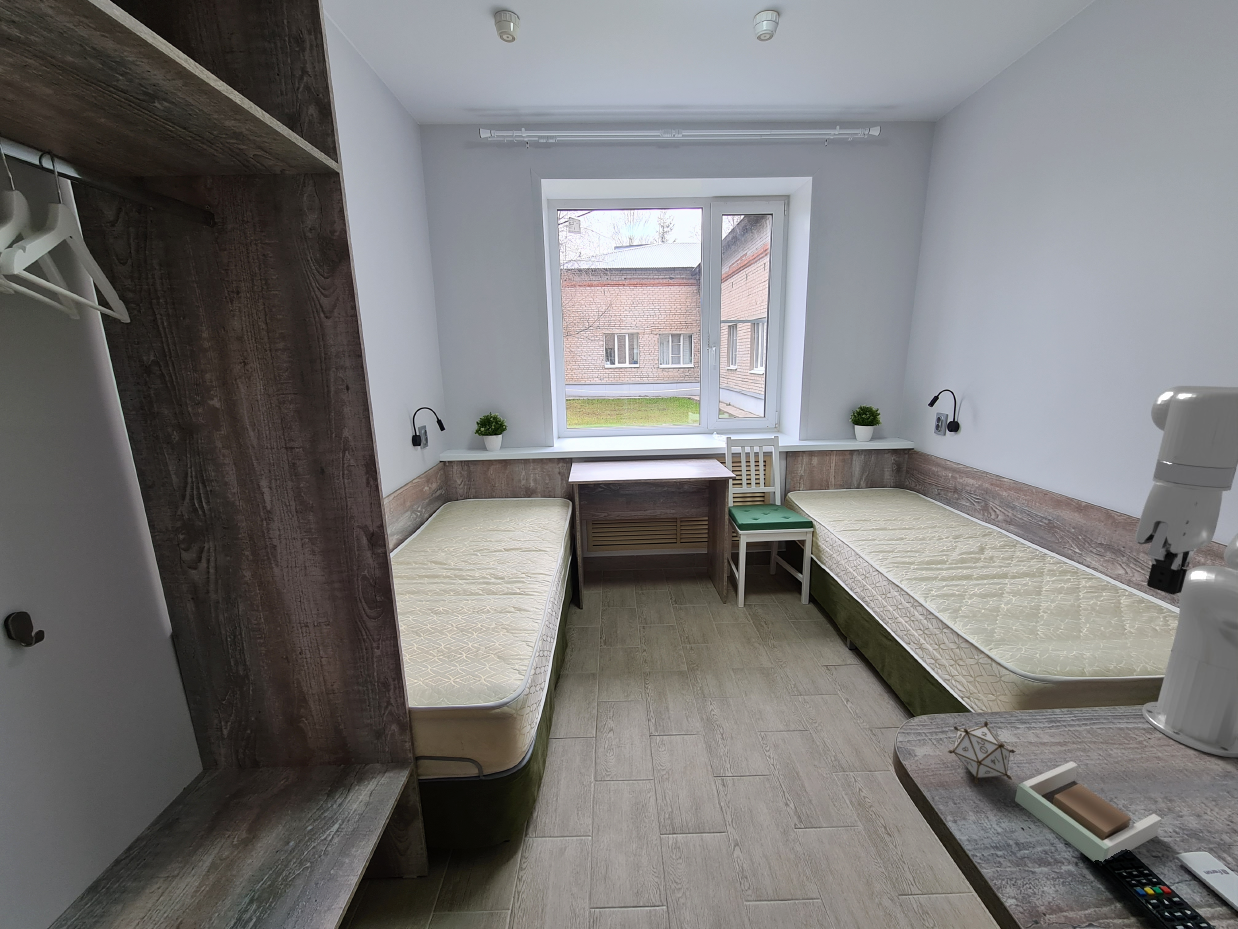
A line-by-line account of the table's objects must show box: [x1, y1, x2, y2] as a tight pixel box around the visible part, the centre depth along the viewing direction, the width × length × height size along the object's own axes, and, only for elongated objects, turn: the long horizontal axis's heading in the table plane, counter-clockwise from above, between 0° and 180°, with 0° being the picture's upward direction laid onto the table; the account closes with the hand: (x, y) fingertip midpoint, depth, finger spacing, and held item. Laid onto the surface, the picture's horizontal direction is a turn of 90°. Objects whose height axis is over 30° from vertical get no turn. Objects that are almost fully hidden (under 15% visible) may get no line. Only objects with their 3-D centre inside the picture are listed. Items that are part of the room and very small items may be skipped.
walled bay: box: [1014, 760, 1162, 862], centre depth 71 cm, size 13×11×3 cm
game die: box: [947, 720, 1016, 785], centre depth 79 cm, size 9×8×10 cm
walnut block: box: [1051, 783, 1132, 841], centre depth 70 cm, size 6×6×4 cm
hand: (1163, 589), depth 74 cm, fingers closed
